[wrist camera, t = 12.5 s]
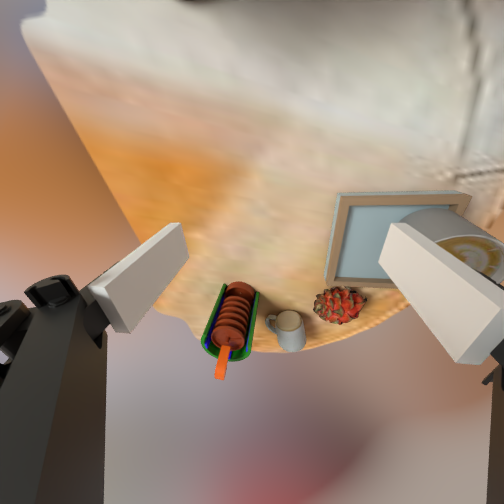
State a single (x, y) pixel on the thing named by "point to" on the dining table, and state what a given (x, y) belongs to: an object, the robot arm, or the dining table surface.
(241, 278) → the dining table surface
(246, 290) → the green and brown toy
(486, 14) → the dining table surface
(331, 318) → the dragon fruit
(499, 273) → the coffee mug
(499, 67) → the dining table surface
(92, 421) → the robot arm
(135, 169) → the dining table surface
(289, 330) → the ceramic mug
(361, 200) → the picture frame
